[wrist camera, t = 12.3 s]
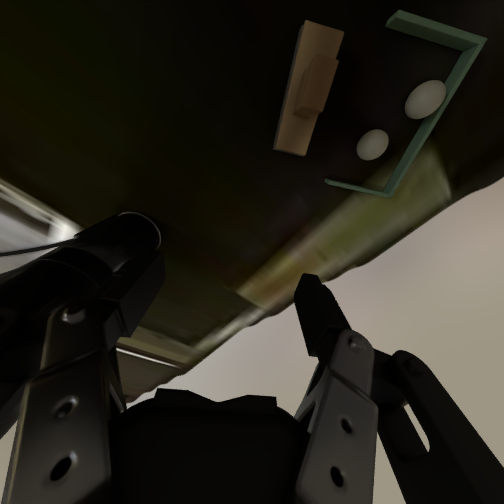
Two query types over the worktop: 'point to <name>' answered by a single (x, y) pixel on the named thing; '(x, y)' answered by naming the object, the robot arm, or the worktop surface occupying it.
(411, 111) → the paper ball
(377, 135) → the paper ball
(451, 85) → the corral
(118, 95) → the worktop surface
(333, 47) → the brown t-shaped block
